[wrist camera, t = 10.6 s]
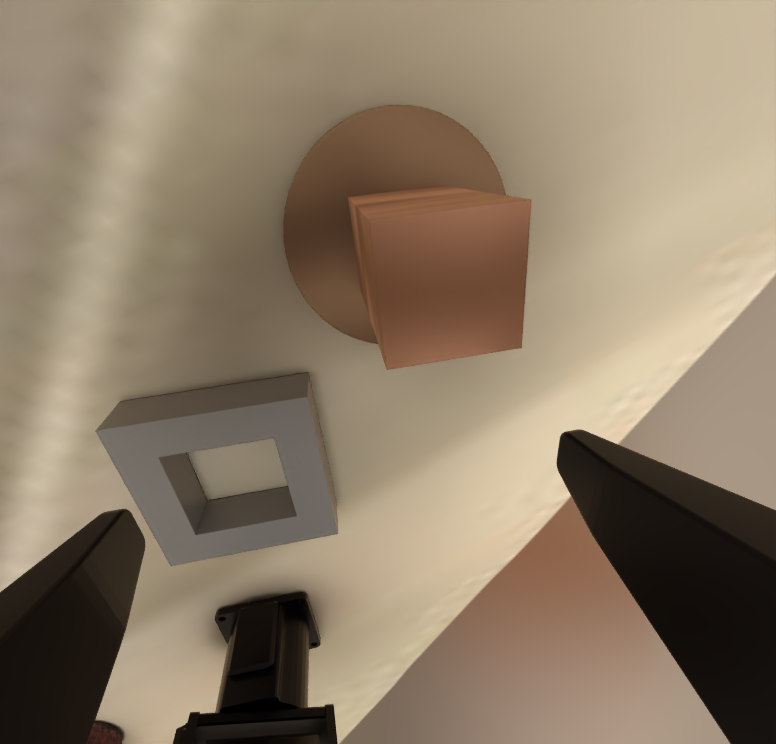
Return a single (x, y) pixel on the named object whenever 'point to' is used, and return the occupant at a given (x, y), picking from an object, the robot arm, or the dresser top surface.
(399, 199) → the block
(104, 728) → the can
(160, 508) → the collar
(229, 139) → the dresser top surface
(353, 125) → the pad
